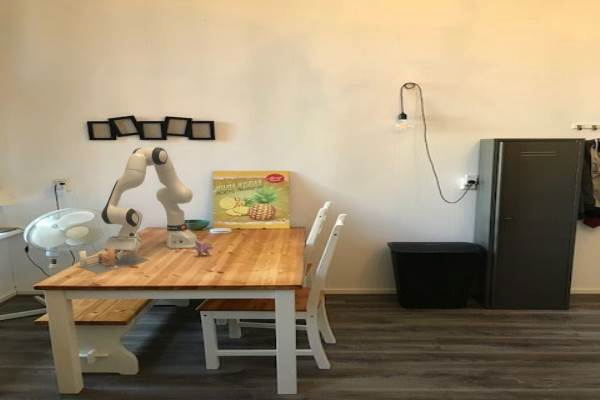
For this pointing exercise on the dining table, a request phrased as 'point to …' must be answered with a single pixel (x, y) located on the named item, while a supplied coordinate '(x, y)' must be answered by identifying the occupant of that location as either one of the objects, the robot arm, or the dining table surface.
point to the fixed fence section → (84, 259)
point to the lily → (202, 248)
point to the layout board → (119, 263)
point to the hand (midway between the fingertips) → (115, 258)
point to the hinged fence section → (109, 257)
